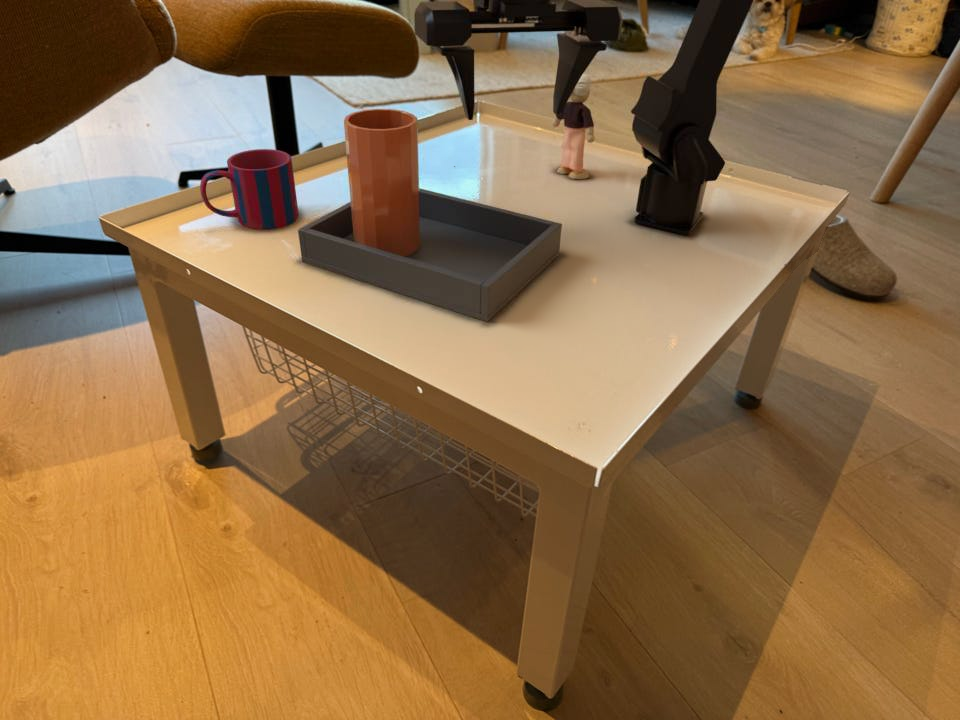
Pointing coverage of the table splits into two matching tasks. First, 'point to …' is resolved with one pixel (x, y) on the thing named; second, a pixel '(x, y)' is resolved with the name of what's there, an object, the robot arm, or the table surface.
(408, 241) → the tumbler
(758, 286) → the table surface
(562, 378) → the table surface
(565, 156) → the grandmother figurine
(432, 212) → the dark grey shallow tray
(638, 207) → the robot arm
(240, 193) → the mug
